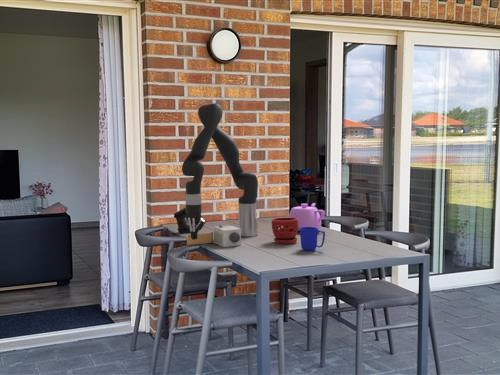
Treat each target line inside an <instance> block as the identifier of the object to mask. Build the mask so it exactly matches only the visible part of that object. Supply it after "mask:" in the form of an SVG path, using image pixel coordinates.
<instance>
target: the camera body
mask: <svg viewBox="0 0 500 375" xmlns="http://www.w3.org/2000/svg"><path fill="white" fill-rule="evenodd" d="M213 243H214V244H217V245H219V246H220V247H223V248H225V247H226V248H227V247H238V246H241V245H242V236H241V229H240V228H239V227H236V226H233V225H222V224H219V225H216V226H213Z"/></svg>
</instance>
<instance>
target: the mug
mask: <svg viewBox="0 0 500 375" xmlns="http://www.w3.org/2000/svg"><path fill="white" fill-rule="evenodd" d="M319 233H321V234H322V241H321V244H320V245H318V236H319V235H318V234H319ZM299 236H300V246H301V247H300V248H301V250H302V251H306V252H307V251H308V252H309V251H315V250H316V249H317V248H322V247H323V246H324V244H325V238H326V231H323V230H319V229H318V228H315V227H302V228H300V231H299Z"/></svg>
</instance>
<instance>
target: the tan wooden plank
mask: <svg viewBox="0 0 500 375" xmlns="http://www.w3.org/2000/svg"><path fill="white" fill-rule="evenodd" d="M209 243H210V244H213V243H214V231H211V232H205V233H197V239H195V240H193V239H192V238H191V234H187V235H186V245H187V246H191V245H202V244H209Z"/></svg>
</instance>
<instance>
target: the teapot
mask: <svg viewBox="0 0 500 375" xmlns="http://www.w3.org/2000/svg"><path fill="white" fill-rule="evenodd" d="M315 206H316V202H313V203H312V204H311V205H310V206H309V205H308V203H301V204H300V206H294V207H292V208H291V210H290V211H289V214H288V218H297V219H298V232H300V228H302V227H315V228H318V230H319V229H320V228H321V226H322V220H323V219H324V217H325V215H326V211H325V210H323V209H318V208H317V207H315Z"/></svg>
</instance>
